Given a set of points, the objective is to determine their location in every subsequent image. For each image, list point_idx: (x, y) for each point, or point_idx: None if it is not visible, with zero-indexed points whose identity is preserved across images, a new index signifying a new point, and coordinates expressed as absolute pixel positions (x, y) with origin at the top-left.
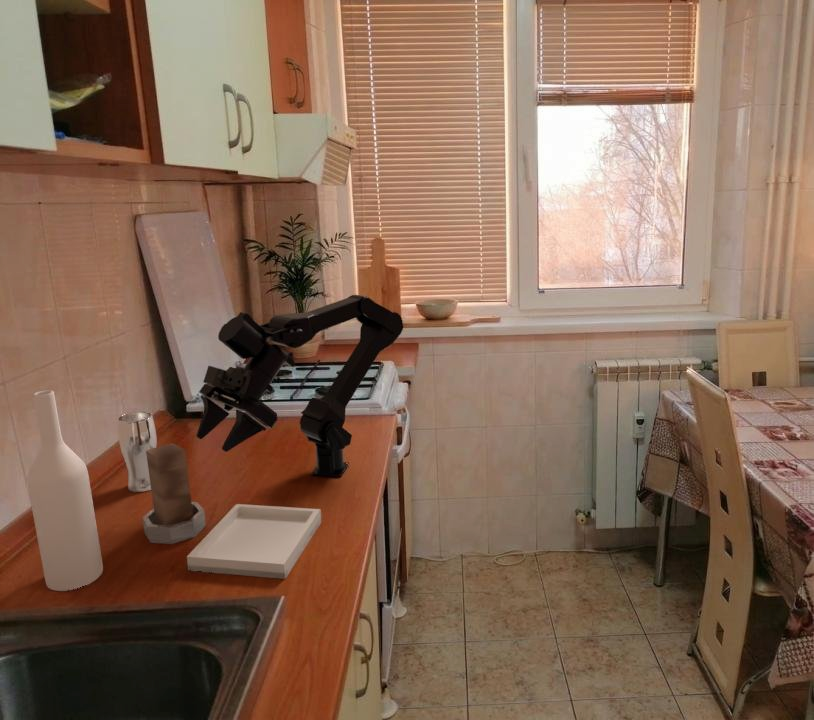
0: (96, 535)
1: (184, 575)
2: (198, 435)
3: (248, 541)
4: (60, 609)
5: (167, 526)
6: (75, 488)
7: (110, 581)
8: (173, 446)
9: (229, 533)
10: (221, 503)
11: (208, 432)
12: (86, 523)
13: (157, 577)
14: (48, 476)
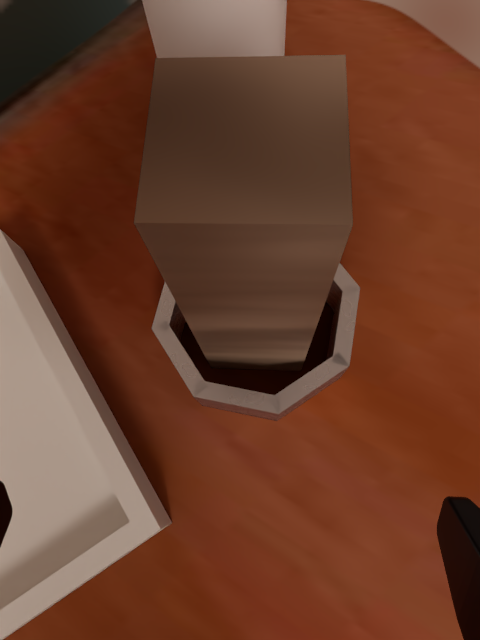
0: (166, 24)
1: (15, 235)
2: (447, 509)
3: None
4: (125, 33)
5: None
6: None
7: (140, 119)
8: (269, 196)
9: (55, 410)
10: (319, 544)
11: (463, 637)
12: None
13: (64, 190)
14: None
